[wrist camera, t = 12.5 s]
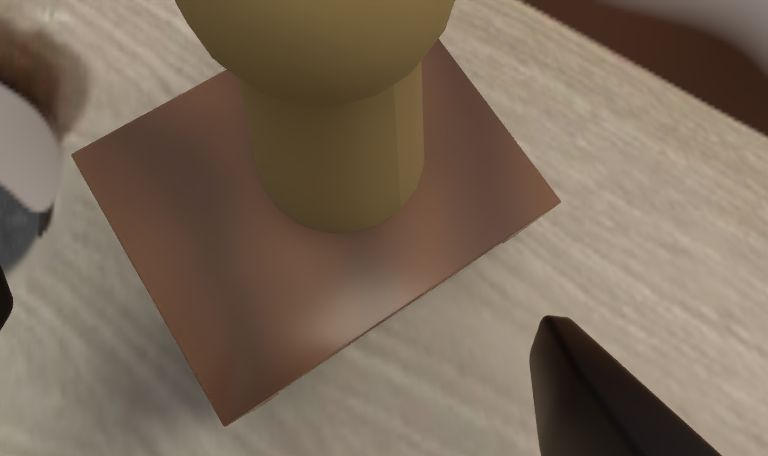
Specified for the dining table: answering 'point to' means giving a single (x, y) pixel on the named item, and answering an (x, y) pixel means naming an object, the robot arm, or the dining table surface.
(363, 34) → the tan rounded tall piece
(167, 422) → the dining table surface
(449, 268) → the wooden stand
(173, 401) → the dining table surface
